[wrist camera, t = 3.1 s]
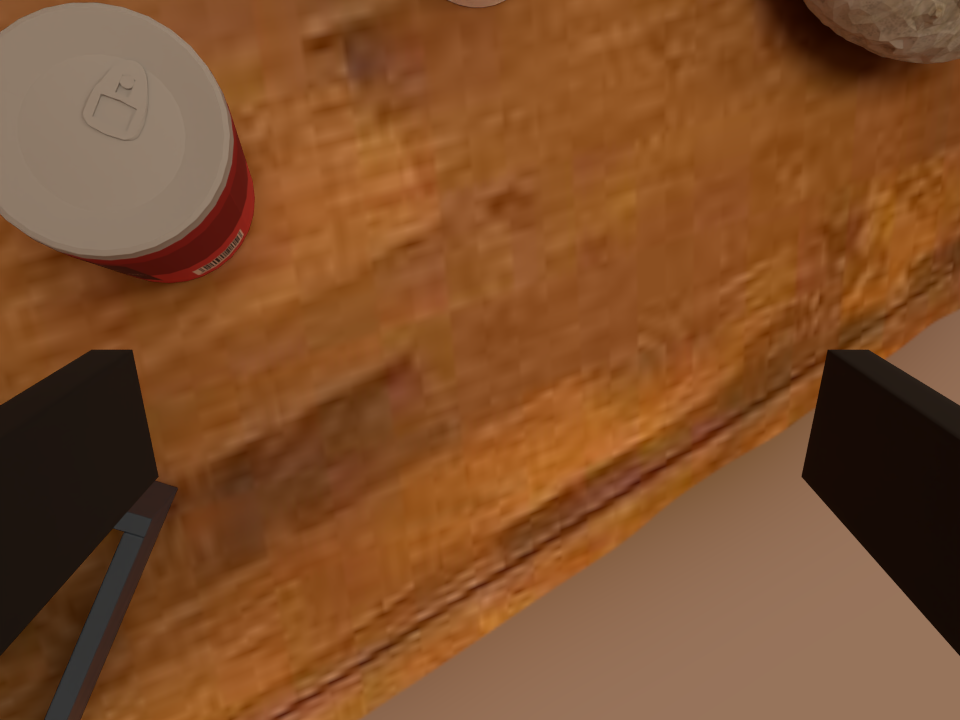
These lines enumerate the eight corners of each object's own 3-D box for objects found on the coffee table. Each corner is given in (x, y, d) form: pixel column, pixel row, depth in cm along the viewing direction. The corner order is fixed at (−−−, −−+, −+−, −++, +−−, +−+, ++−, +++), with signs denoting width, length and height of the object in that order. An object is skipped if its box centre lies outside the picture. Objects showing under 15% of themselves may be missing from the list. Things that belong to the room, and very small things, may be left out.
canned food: (263, 131, 32) (241, 27, 21) (249, 293, 32) (220, 272, 21) (88, 101, 30) (-34, -30, 19) (73, 275, 30) (-57, 241, 19)
